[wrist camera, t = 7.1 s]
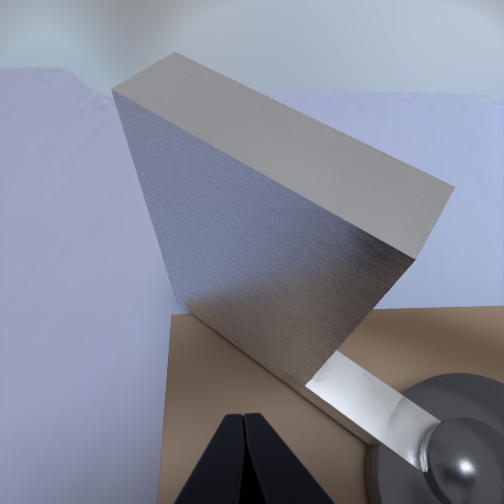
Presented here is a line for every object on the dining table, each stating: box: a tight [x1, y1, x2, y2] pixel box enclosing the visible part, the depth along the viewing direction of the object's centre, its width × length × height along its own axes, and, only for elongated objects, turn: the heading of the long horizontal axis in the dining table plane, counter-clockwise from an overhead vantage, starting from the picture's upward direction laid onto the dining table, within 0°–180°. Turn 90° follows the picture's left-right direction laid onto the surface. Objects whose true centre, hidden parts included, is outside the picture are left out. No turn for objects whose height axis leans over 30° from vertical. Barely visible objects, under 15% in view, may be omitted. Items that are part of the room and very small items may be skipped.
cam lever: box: [111, 52, 504, 504], centre depth 10 cm, size 18×8×11 cm, turn 54°
